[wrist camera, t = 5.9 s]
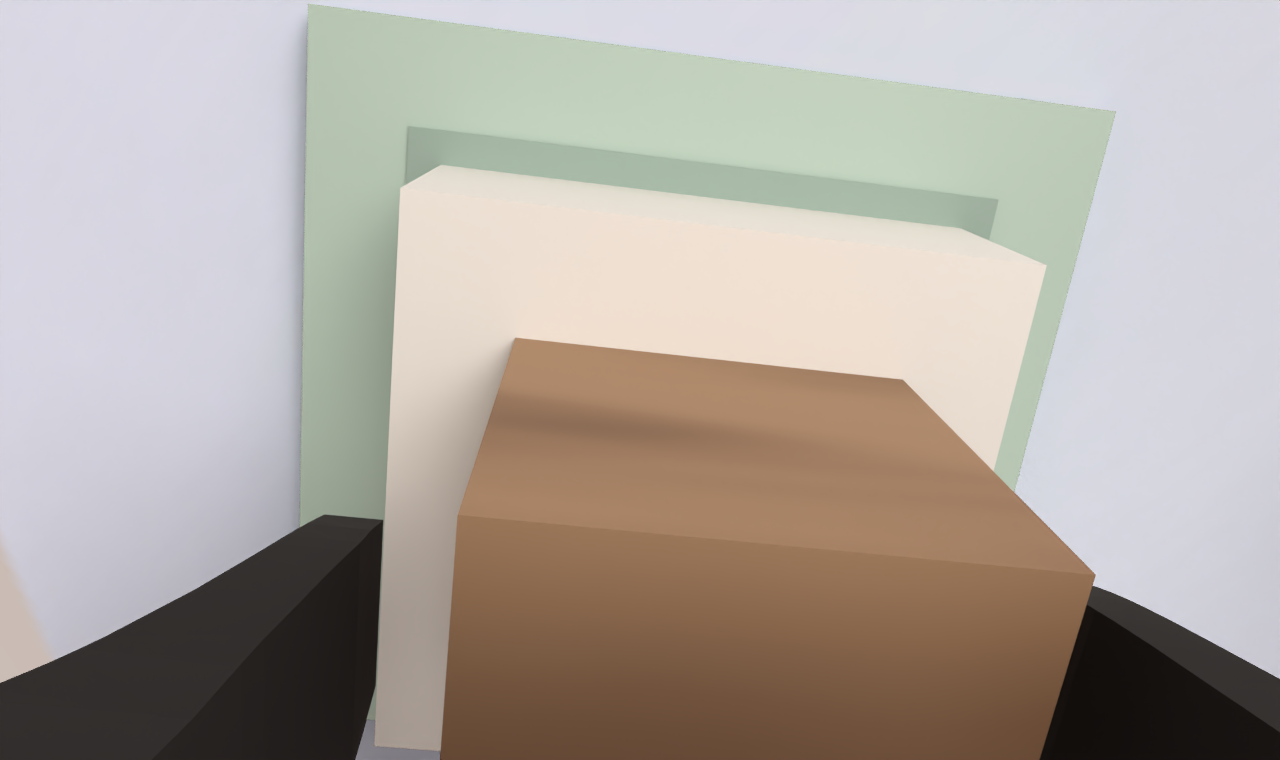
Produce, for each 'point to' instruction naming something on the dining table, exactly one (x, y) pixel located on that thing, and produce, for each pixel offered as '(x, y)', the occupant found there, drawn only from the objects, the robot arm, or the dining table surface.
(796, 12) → the dining table surface
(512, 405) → the walnut cube
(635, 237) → the block
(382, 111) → the board
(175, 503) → the dining table surface
